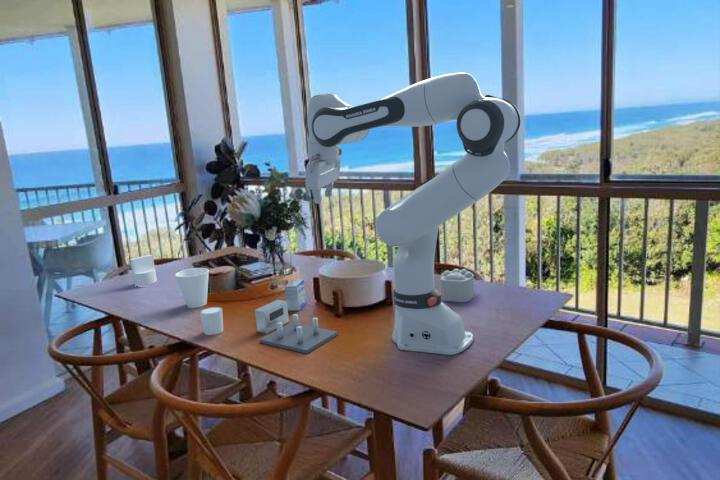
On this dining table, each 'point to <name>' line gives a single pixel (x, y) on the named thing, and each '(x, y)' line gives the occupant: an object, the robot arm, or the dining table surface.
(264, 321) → the drive
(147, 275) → the base with upright slab
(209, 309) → the white short cylinder
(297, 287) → the medicine box
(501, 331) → the dining table surface
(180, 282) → the cup
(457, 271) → the bowl of white balls
